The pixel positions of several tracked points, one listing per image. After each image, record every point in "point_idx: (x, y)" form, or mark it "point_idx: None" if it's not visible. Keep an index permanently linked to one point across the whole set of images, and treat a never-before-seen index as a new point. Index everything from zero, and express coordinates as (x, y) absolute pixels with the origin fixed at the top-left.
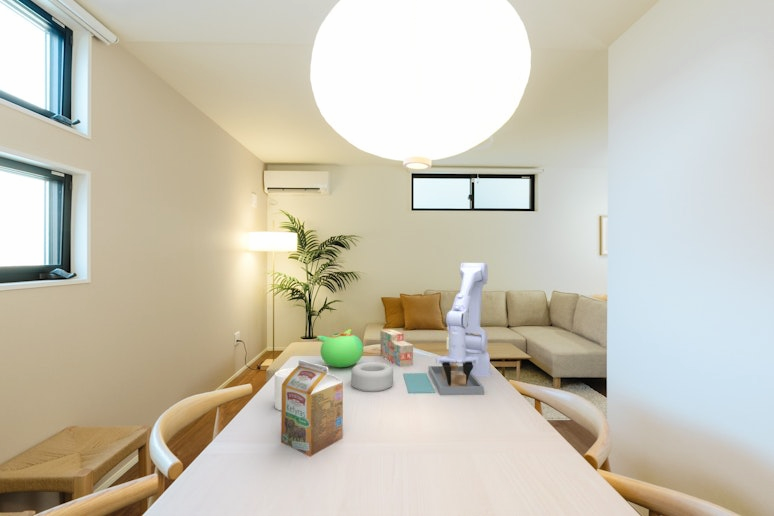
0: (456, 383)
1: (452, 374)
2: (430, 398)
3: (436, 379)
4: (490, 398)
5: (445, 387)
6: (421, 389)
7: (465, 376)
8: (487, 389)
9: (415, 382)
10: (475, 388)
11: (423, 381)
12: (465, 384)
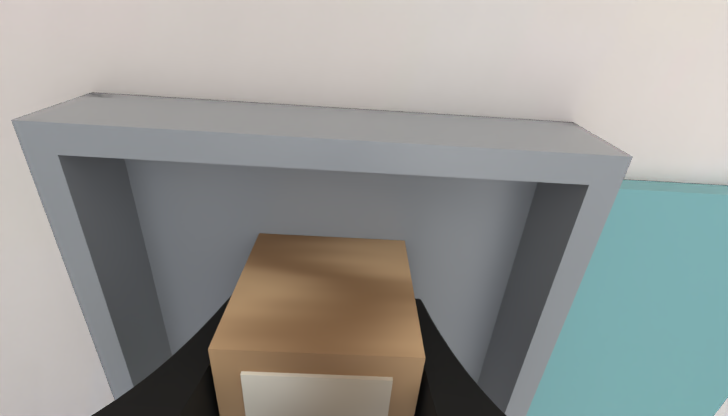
0: (354, 279)
1: (398, 384)
2: (699, 81)
3: (534, 375)
4: (14, 14)
5: (557, 152)
6: (698, 261)
7: (222, 335)
8: (46, 254)
9: (650, 393)
10: (144, 121)
11: (574, 405)
12: (250, 266)
